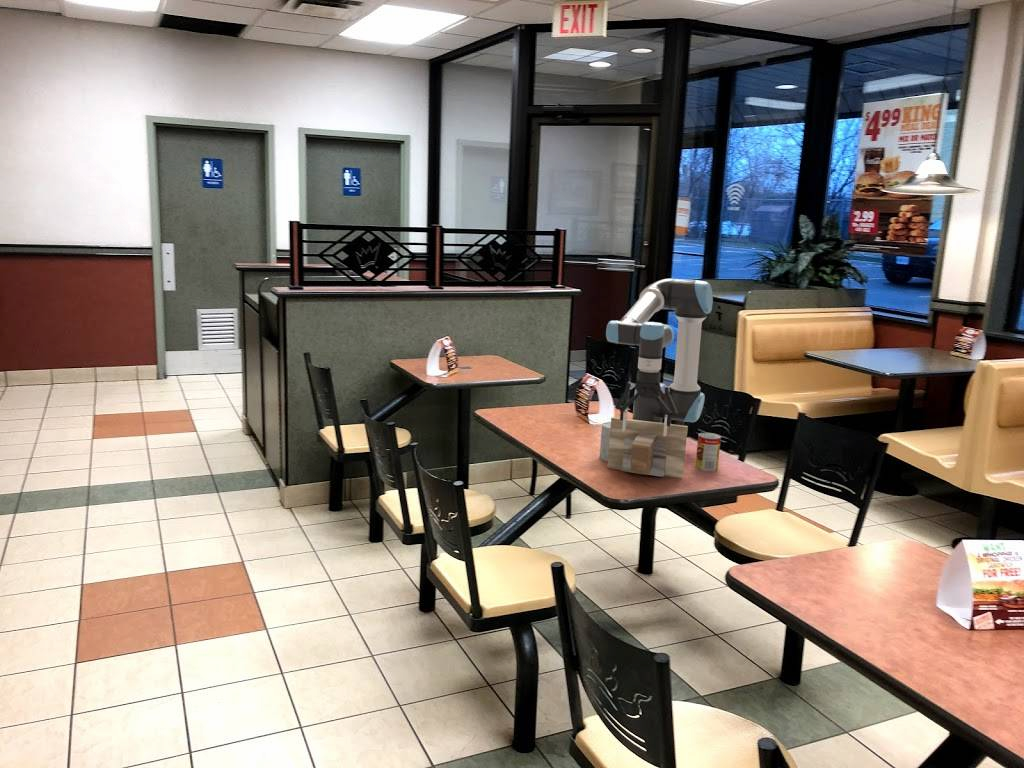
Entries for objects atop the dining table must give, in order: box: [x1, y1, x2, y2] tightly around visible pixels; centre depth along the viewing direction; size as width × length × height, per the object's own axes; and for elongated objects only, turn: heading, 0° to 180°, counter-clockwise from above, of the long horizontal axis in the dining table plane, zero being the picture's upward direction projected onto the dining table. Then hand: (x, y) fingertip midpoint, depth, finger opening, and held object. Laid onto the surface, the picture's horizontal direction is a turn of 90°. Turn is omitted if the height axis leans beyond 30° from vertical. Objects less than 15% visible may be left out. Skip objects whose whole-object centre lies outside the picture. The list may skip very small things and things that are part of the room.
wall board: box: [607, 416, 689, 479], centre depth 284 cm, size 6×26×18 cm, turn 72°
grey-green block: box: [598, 421, 611, 462], centre depth 302 cm, size 10×10×12 cm
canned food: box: [694, 432, 722, 472], centre depth 295 cm, size 8×8×12 cm
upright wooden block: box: [629, 434, 656, 476], centre depth 278 cm, size 13×6×10 cm, turn 162°
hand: (644, 432), depth 275 cm, fingers open, 13 cm apart
